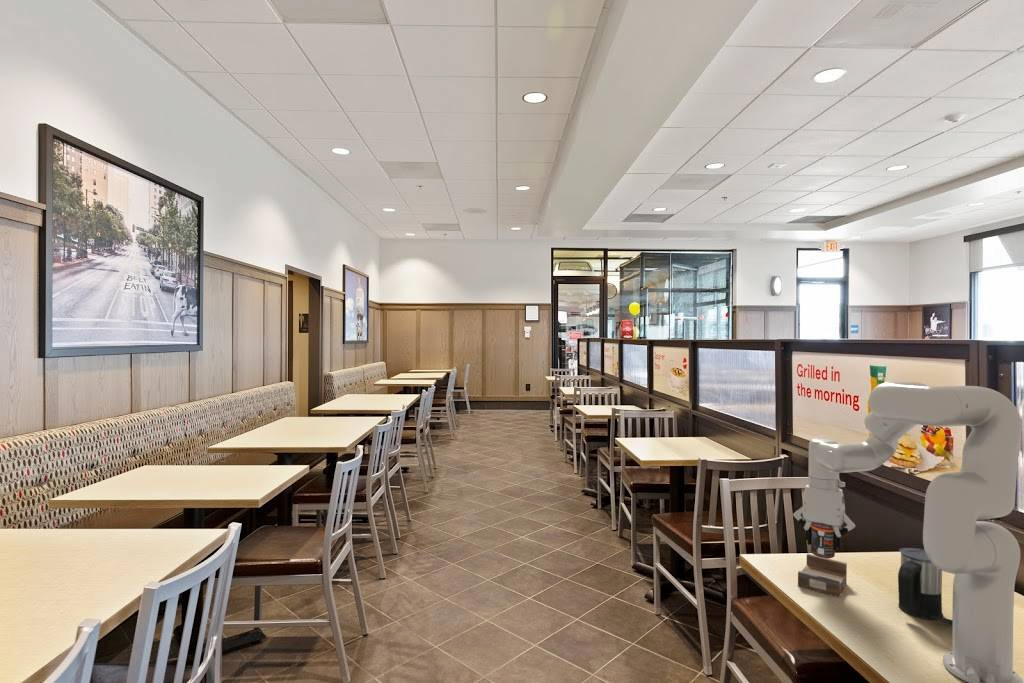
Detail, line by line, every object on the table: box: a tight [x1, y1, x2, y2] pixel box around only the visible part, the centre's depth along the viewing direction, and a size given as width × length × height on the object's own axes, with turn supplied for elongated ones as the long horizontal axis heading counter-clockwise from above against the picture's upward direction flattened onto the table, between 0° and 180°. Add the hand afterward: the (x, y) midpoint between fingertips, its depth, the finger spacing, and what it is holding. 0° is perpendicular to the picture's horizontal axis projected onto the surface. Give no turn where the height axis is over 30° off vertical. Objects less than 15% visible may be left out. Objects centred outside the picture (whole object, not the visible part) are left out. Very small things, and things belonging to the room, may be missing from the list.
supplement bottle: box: [810, 522, 836, 559], centre depth 152 cm, size 6×6×11 cm
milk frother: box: [897, 547, 952, 625], centre depth 134 cm, size 14×16×15 cm
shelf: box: [797, 553, 848, 598], centre depth 152 cm, size 12×10×6 cm
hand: (822, 545), depth 152 cm, fingers closed on supplement bottle, 5 cm apart
